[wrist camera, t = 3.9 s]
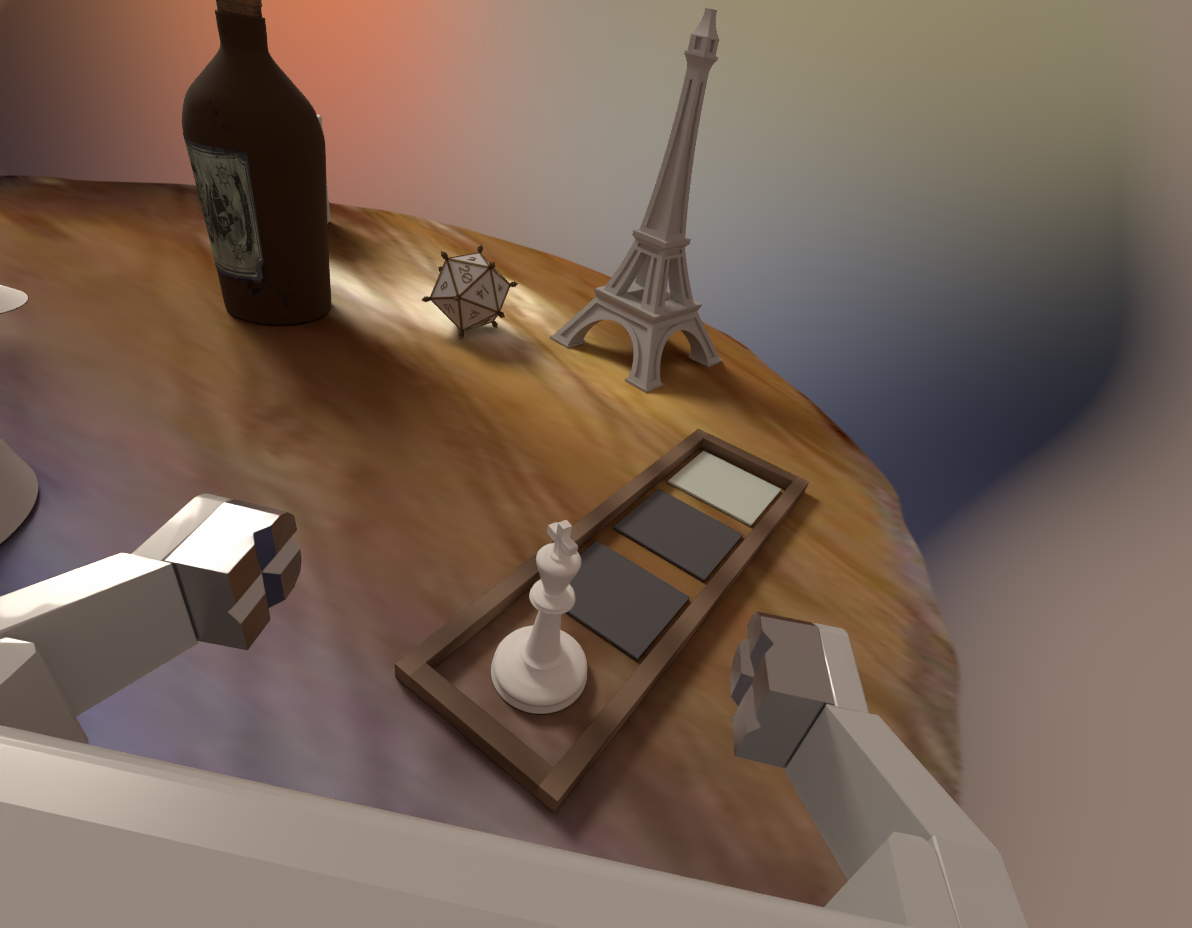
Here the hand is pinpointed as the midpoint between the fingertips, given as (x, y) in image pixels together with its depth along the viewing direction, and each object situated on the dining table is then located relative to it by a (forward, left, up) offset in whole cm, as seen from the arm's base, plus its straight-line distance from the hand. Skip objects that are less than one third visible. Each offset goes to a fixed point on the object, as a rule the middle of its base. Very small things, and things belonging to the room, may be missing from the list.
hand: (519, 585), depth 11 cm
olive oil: (+26, +52, -19) cm, 61 cm away
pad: (+33, +6, -19) cm, 39 cm away
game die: (+38, +38, -19) cm, 57 cm away
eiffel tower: (+49, +24, -19) cm, 58 cm away
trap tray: (+22, +6, -19) cm, 29 cm away
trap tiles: (+22, +6, -19) cm, 29 cm away
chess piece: (+11, +6, -19) cm, 23 cm away
